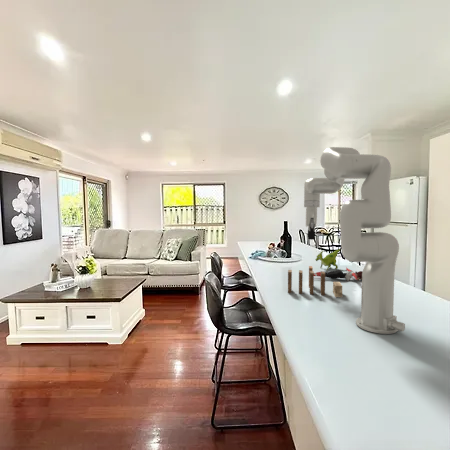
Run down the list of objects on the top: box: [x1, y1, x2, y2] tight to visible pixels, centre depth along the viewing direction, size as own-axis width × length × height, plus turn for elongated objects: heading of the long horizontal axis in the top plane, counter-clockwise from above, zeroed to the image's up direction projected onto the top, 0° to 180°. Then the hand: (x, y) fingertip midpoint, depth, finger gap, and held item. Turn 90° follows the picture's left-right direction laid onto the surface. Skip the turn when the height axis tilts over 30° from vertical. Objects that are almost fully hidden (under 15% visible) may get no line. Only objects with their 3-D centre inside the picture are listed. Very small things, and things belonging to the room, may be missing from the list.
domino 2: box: [298, 270, 304, 295], centre depth 138 cm, size 2×5×10 cm, turn 166°
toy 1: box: [315, 248, 341, 271], centre depth 193 cm, size 8×21×15 cm, turn 115°
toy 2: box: [314, 266, 363, 282], centre depth 164 cm, size 28×6×30 cm
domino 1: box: [287, 269, 293, 294], centre depth 140 cm, size 2×5×10 cm, turn 166°
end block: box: [332, 281, 343, 298], centre depth 134 cm, size 3×8×5 cm, turn 166°
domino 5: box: [320, 271, 326, 296], centre depth 136 cm, size 2×5×10 cm, turn 166°
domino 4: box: [309, 270, 315, 296], centre depth 137 cm, size 2×5×10 cm, turn 166°
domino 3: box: [308, 265, 314, 289], centre depth 149 cm, size 2×5×10 cm, turn 166°
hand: (311, 238), depth 148 cm, fingers open, 9 cm apart
